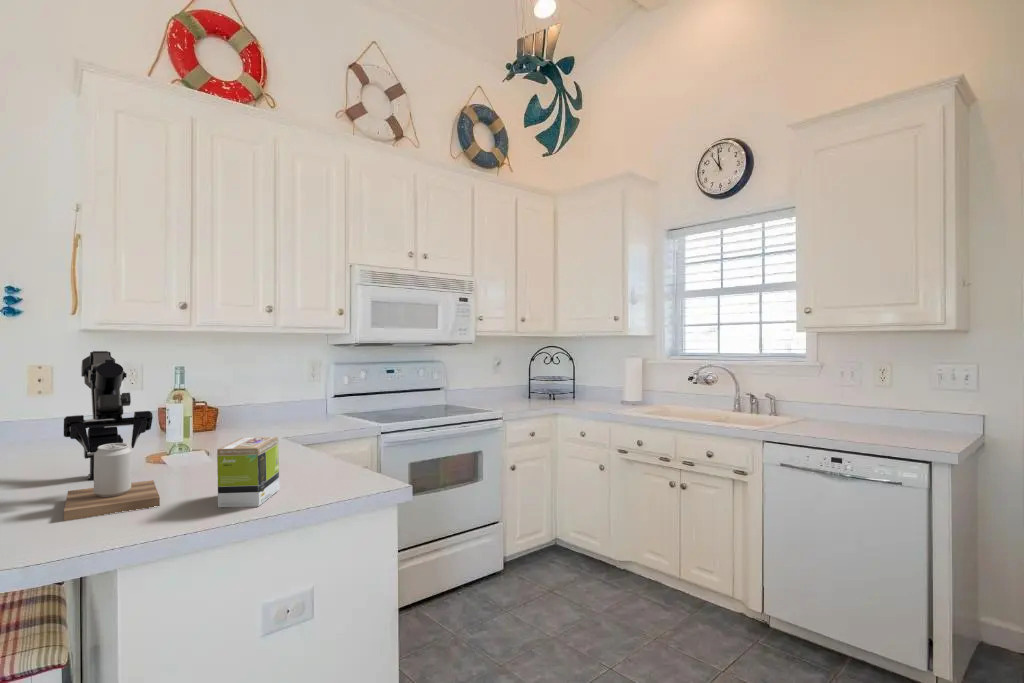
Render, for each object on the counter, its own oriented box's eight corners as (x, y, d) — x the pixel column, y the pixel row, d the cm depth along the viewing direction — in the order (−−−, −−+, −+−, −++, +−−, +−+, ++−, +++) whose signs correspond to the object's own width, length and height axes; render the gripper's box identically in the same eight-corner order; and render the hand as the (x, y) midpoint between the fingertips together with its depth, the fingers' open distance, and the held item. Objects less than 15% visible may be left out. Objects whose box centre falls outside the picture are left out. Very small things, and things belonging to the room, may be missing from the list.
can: (99, 500, 130) (99, 450, 129) (89, 492, 134) (89, 444, 134) (135, 493, 136) (136, 445, 135) (125, 486, 140) (125, 440, 140)
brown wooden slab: (68, 502, 137) (68, 490, 137) (153, 491, 148) (153, 480, 148) (64, 524, 122) (64, 510, 122) (159, 509, 132) (159, 497, 132)
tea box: (241, 491, 146) (241, 436, 146) (280, 490, 147) (280, 436, 147) (216, 508, 131) (216, 447, 131) (259, 507, 132) (259, 446, 132)
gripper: (64, 384, 138) (64, 434, 129) (151, 381, 150) (157, 426, 141) (63, 412, 144) (63, 461, 135) (147, 406, 156) (153, 451, 147)
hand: (111, 449), depth 140 cm, fingers open, 9 cm apart
